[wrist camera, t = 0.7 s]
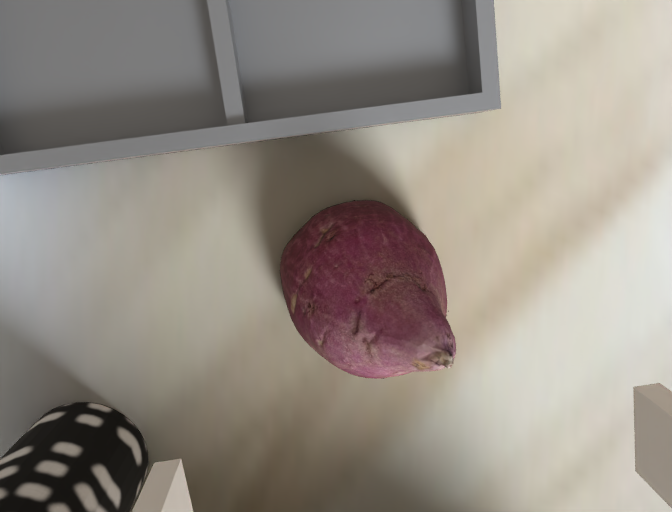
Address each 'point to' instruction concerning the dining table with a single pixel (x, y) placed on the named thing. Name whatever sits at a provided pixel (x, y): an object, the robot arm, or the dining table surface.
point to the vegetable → (368, 291)
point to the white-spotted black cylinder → (75, 463)
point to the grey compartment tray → (229, 72)
